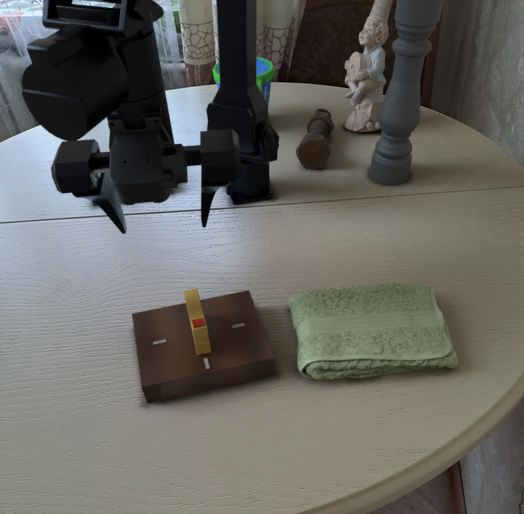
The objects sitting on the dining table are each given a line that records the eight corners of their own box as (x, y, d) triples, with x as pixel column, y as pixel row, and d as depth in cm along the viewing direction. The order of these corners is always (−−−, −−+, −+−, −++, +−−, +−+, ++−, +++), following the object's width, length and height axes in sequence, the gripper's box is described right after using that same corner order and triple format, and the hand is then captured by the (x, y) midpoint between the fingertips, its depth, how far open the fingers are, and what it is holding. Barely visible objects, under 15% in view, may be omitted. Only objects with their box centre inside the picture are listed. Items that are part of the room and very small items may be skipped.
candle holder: (365, 180, 80) (391, -6, 61) (374, 161, 84) (402, -19, 65) (404, 187, 78) (443, -1, 59) (411, 168, 82) (451, -15, 63)
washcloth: (461, 374, 54) (469, 355, 52) (299, 387, 54) (300, 368, 51) (425, 292, 63) (431, 272, 60) (286, 303, 62) (286, 283, 60)
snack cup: (212, 110, 98) (206, 53, 90) (264, 104, 99) (263, 47, 92) (225, 148, 88) (220, 88, 80) (283, 140, 89) (284, 80, 82)
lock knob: (188, 316, 57) (183, 289, 54) (201, 314, 57) (196, 286, 54) (197, 355, 53) (192, 328, 50) (211, 352, 53) (206, 325, 50)
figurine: (373, 111, 96) (391, -14, 81) (398, 129, 91) (422, -1, 76) (333, 121, 94) (343, -6, 79) (356, 140, 89) (372, 8, 73)
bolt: (325, 136, 93) (315, 176, 83) (302, 121, 92) (290, 160, 82) (343, 109, 89) (335, 148, 79) (319, 93, 88) (309, 130, 78)
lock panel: (250, 307, 62) (249, 288, 59) (274, 375, 55) (274, 356, 53) (137, 330, 60) (131, 312, 57) (147, 404, 53) (140, 386, 50)
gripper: (9, 139, 40) (72, 282, 53) (238, 122, 41) (249, 268, 53) (37, 81, 48) (87, 219, 60) (233, 68, 48) (243, 207, 60)
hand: (164, 228), depth 58 cm, fingers open, 9 cm apart
